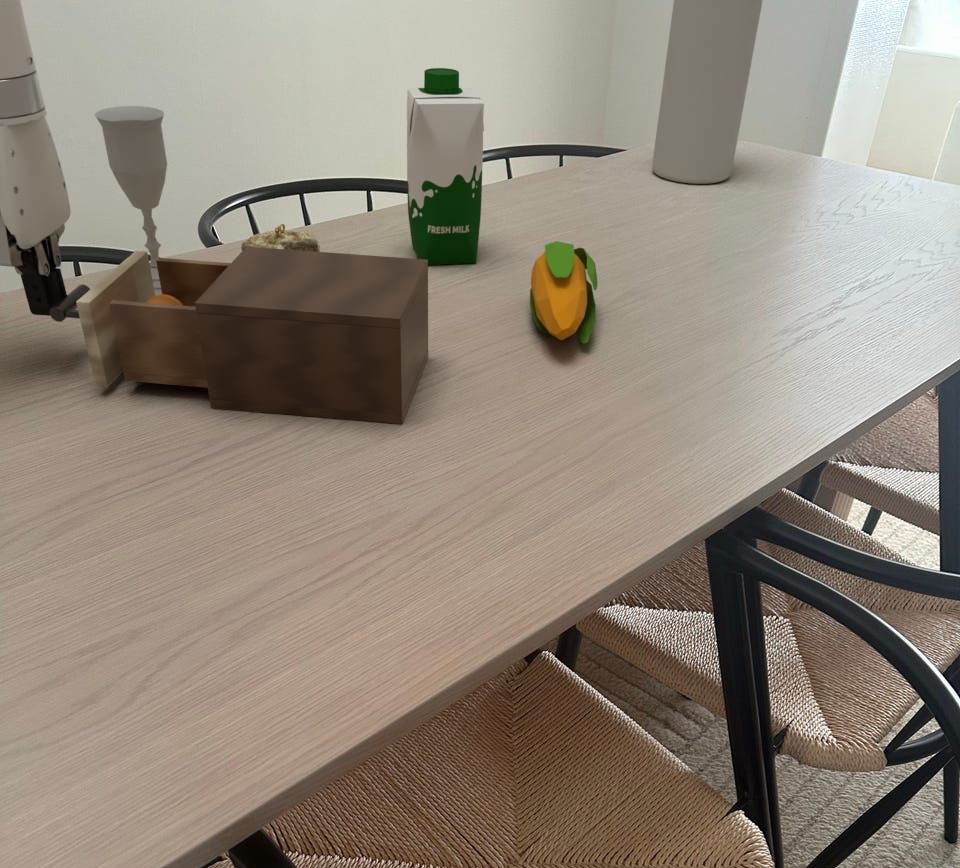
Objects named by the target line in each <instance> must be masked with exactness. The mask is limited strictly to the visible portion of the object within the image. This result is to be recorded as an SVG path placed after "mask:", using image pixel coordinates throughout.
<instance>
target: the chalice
mask: <svg viewBox="0 0 960 868" xmlns="http://www.w3.org/2000/svg"><path fill="white" fill-rule="evenodd" d="M164 116H165V112H164V111H163V110H161V109H159V108H156V107H151V106H143V105H141V106H140V105H122V106H121V105H120V106H113V107H112V106H111V107H106V108H103V109H99V110H98V111H96V112H95V113H94V117H95V118H96V119H97V121H98V123H99V124H100V126H101V129H102V135H103V140H104V145H105V150H106V155H107V161H108V165H109V168H110V170H111V172H112V174H113V176H114V178H115V180H116V182H117V184H118V186H119V187H120V189H121V190H122V192H123V193H124V195H125V196H126V198H127V200H128V201H129V202H130V204H131V205H132V207H134V208H135V209H138V210H141V213H142V217H143V225H142V226H141V227H142V228H141V229H142V230H143V231H144V233H145V235H146V242H145V244H144V248H146V249H147V250H148V254H149V256H150V262H149V264H150V269H151V275H152V280H153V286H154V291H155V295H161V294H162V291H161V285H160V280H159V274H158V268H157V263H156V260H157V259H158V258H160V256H159V251H160V250H159V249H160V248H161V246H162V244H161V243H160V242H158V240H157V238H156V233H157V232H156V231H157V229H158V226H157V225H156V224H155V221H154V219H153V209H156V208H157V207H158V206H159V204H160V201H161V197H162V194H163V190H164V186H165V183H166V175H167V169H168V168H167V167H168V159H167V154H166V147H165V141H164V140H165V139H164V135H163V127H162V124H163V123H162V122H163V119H164Z"/></svg>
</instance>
